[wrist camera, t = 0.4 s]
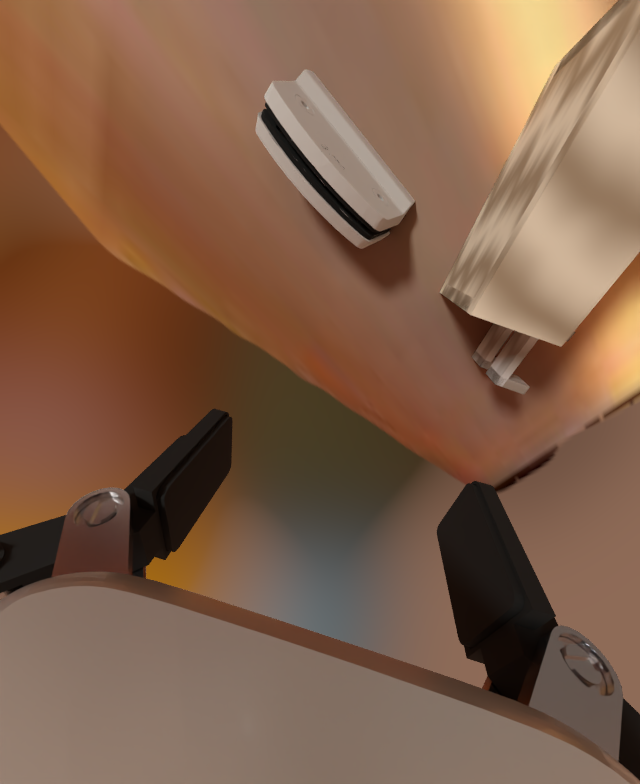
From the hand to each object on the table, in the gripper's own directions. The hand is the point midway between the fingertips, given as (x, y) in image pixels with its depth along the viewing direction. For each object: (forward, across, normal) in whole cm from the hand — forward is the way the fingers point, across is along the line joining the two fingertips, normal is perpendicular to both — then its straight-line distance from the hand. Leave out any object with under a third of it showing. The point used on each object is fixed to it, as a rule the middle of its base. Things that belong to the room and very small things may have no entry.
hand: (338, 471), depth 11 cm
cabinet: (+30, -15, -11) cm, 35 cm away
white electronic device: (+31, +7, -14) cm, 34 cm away
